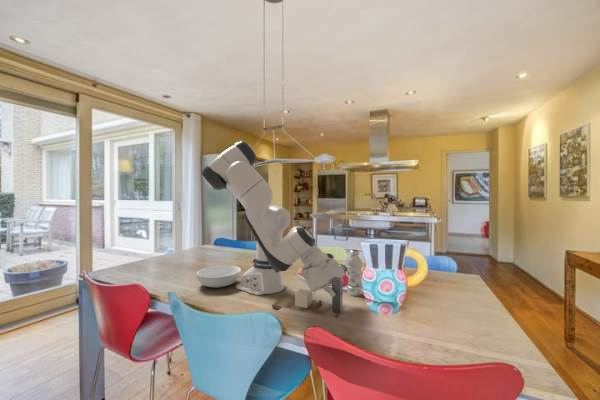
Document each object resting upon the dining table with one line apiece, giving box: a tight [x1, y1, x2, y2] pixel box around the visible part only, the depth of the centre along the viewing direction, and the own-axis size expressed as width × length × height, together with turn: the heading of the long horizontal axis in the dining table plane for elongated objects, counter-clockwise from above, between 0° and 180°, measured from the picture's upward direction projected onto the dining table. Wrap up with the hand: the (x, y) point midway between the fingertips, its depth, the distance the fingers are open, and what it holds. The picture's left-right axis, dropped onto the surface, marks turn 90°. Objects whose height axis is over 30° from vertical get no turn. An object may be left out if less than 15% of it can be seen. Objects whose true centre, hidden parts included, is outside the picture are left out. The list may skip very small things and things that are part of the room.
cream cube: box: [294, 288, 313, 308], centre depth 101 cm, size 5×5×5 cm
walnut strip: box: [271, 277, 345, 319], centre depth 100 cm, size 26×10×13 cm, turn 66°
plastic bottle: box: [346, 249, 363, 297], centre depth 113 cm, size 6×7×20 cm
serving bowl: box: [196, 265, 242, 289], centre depth 128 cm, size 21×21×7 cm
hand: (338, 293), depth 95 cm, fingers closed on walnut strip, 4 cm apart
